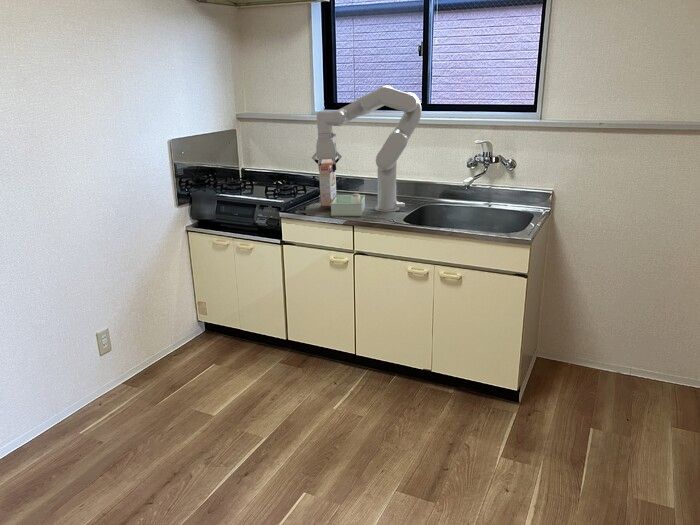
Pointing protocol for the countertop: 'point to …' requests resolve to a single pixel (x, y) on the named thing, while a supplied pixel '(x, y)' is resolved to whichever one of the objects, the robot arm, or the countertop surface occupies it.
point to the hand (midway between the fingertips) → (327, 171)
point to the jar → (355, 198)
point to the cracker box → (327, 183)
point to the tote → (347, 206)
